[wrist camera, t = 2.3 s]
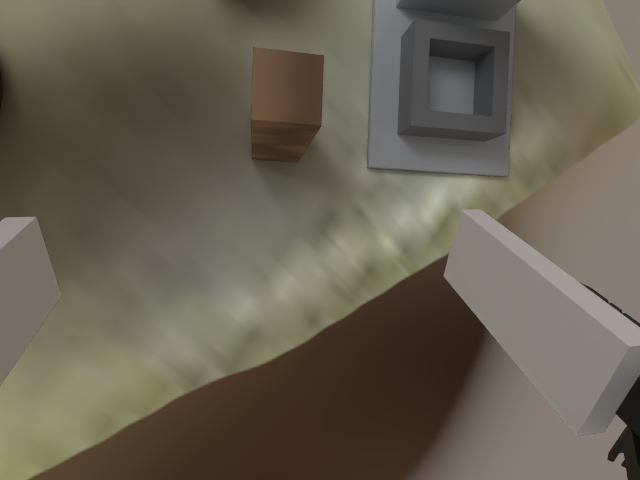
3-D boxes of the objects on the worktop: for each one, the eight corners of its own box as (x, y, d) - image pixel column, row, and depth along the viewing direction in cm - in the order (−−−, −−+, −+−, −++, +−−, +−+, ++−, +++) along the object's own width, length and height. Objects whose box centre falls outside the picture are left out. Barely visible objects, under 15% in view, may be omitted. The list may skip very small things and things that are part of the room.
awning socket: (504, 176, 37) (831, 106, 16) (366, 167, 35) (539, 71, 14) (512, -9, 37) (858, -330, 16) (374, -32, 34) (563, -444, 13)
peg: (252, 159, 33) (250, 119, 21) (253, 113, 33) (253, 47, 21) (297, 162, 34) (321, 125, 22) (299, 117, 34) (323, 55, 22)
